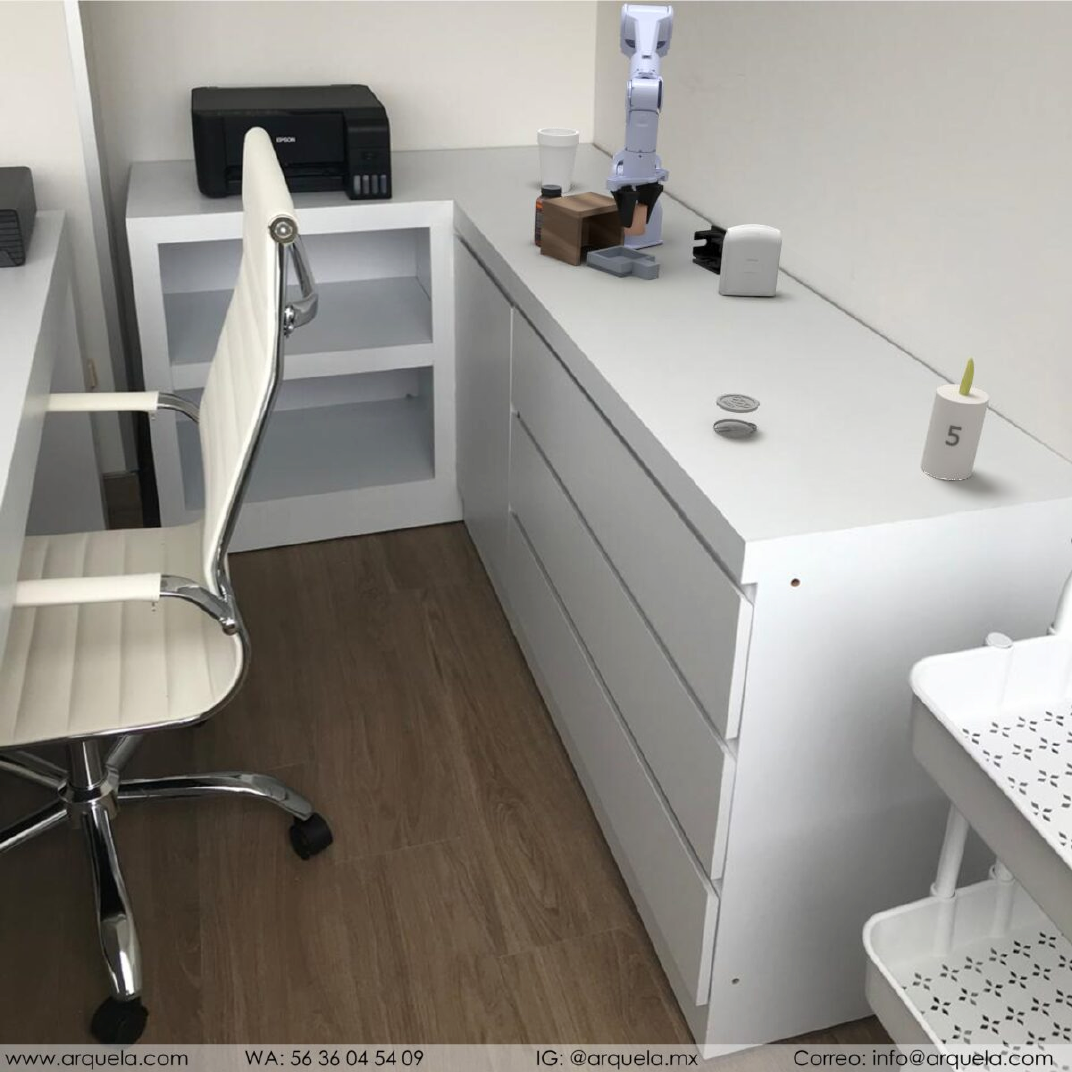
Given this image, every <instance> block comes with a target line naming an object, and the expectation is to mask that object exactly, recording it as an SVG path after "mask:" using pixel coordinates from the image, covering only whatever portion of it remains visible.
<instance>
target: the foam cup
mask: <svg viewBox="0 0 1072 1072" xmlns="http://www.w3.org/2000/svg"><path fill="white" fill-rule="evenodd" d="M536 141H537V144H538V153H539V155H538V156H539V166H540V177H541V187H542V186H543V185H559V186H561V187H562V194H563V193H568V192H570V188H571V185H572V179H573V172H574V167H575V162H576V158H577V157H576V156H577V150H578V144H579V143H580V132H579V131H578V130H576V129H573V128H567V127H543V128H540V129H537V139H536Z"/></svg>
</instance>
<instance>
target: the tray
mask: <svg viewBox="0 0 1072 1072" xmlns="http://www.w3.org/2000/svg"><path fill="white" fill-rule="evenodd" d="M586 267H589V268H592V269H595V270H597V271H601V272H603V273H606V274H610V275H613V276H615V277H618V278H623V277H627V276H633V277H634V276H635V277H638V278H640V279H643V280H646V281H648V280H652V279H657V278H659V275H660V267H661V265H660V263H657V262H656V256H655V255H653V254H650V253H647V252H644V251H640V250H638V249H632V248H629V247H626V246H622V245H619V246H615V247H610V248H606V249H598V250H592V251H588V252H587V253H586Z"/></svg>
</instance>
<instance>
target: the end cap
mask: <svg viewBox="0 0 1072 1072" xmlns="http://www.w3.org/2000/svg"><path fill="white" fill-rule="evenodd" d="M726 231H727V229H725V228H723V227H720V226H718V225H715V224H711V226H710V229H705V230H698V231H697V230H696V231H695V232H694V235H693V240H694V241H700V240H701V241H702V240H704V241H705V244H704V245H696V246H692V256H693V259H692V263H694V264H695V265H698V266H699V267H701V268H703V269H705V270H708V272H711V273H713V274H715V275H719V276H720V272H721V261H722V251H723V242H724V237H725V235H726Z"/></svg>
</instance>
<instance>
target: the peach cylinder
mask: <svg viewBox="0 0 1072 1072" xmlns="http://www.w3.org/2000/svg"><path fill="white" fill-rule="evenodd" d="M646 217H647V205H645V204H641V203H636V205H635V209H634V215H633V222H632V226H631V228H626V227H624V234H627V235H632V236H641V235H644V234H645V229H646Z"/></svg>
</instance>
